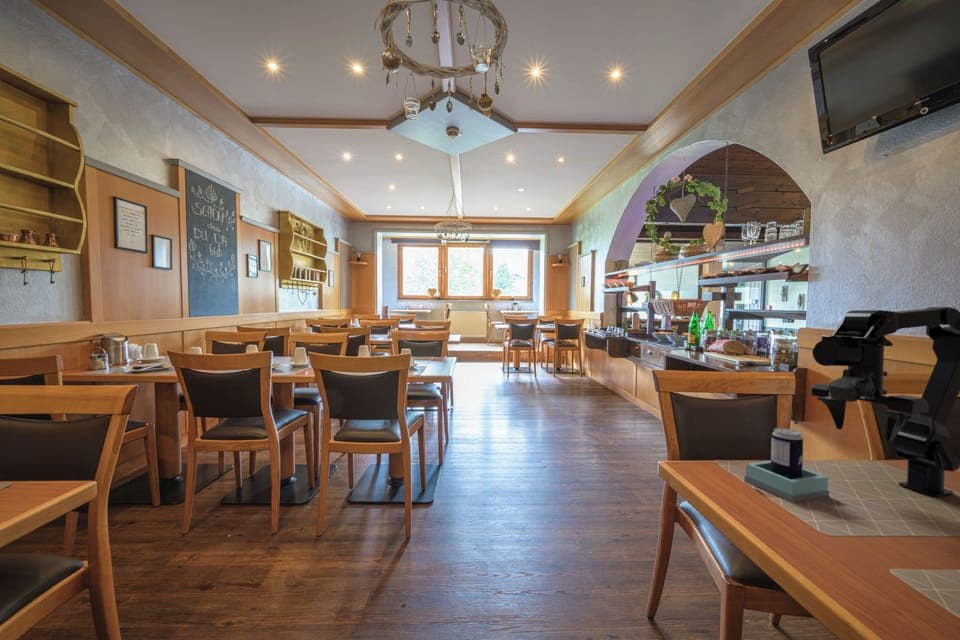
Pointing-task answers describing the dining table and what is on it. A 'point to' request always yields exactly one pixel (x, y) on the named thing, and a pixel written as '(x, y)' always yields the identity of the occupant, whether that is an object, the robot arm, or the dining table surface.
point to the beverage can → (787, 453)
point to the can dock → (787, 482)
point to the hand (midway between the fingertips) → (863, 435)
